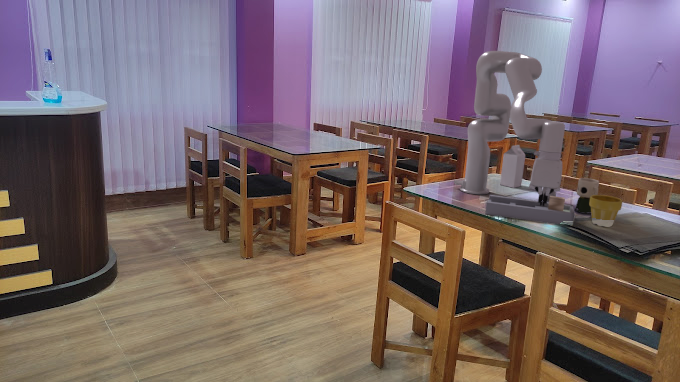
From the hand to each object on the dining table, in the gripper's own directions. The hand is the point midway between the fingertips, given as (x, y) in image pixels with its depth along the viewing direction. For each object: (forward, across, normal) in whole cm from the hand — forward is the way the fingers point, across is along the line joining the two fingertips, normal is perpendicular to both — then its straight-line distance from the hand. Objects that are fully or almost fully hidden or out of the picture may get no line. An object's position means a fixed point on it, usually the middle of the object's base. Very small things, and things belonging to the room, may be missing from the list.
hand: (542, 204), depth 186 cm
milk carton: (+5, -14, +49) cm, 51 cm away
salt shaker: (+5, +2, +28) cm, 29 cm away
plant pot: (+5, +21, +2) cm, 22 cm away
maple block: (+2, +5, 0) cm, 5 cm away
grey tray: (+5, -4, 0) cm, 6 cm away
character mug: (+5, +16, +16) cm, 23 cm away
